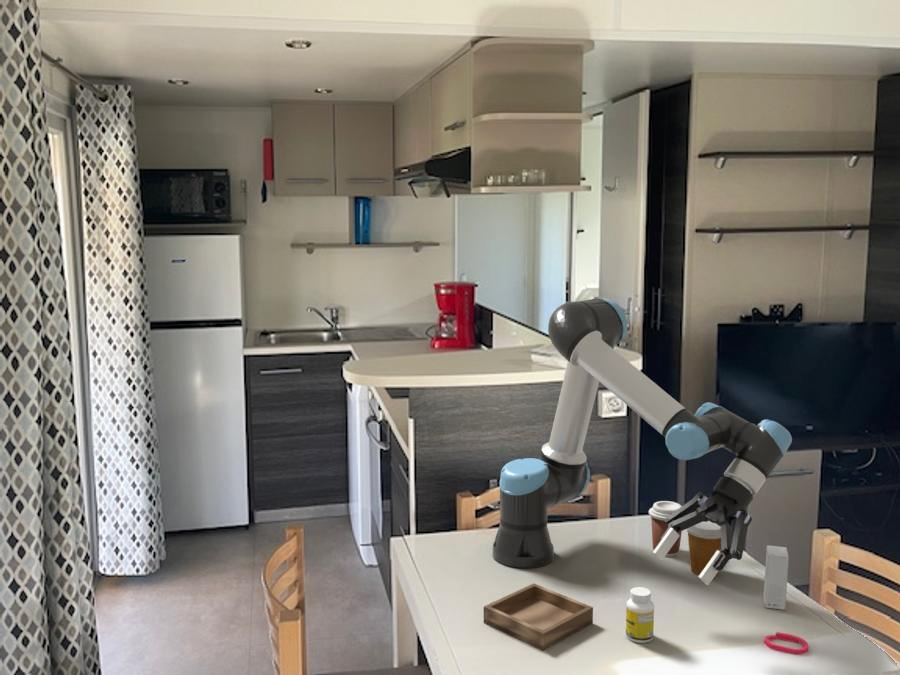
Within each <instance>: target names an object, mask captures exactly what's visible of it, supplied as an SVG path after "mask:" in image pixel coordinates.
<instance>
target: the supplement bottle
mask: <svg viewBox="0 0 900 675" xmlns="http://www.w3.org/2000/svg"><path fill="white" fill-rule="evenodd" d="M629 597H630V598H629V599H628V600H627V601H626V608H625V609H626V610H625V611H626V612H625V614H626V617H625V636H626V638H627V639H628V640H630V641H631V642H634V643H637V644H646V643H650V642H651V641H652V640H653V639H654V626H655V624H654V623H655V622H654V621H655V620H654V618H655V617H654V616H655V605H654V602H653V601H652V600H651V597H652V592H651V590H649V589H648V588H646V587H642V586H637V587H633V588H631V589H630V595H629Z"/></svg>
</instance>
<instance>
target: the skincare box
mask: <svg viewBox="0 0 900 675" xmlns="http://www.w3.org/2000/svg"><path fill="white" fill-rule="evenodd" d="M787 549H788V548H787V547H785V546H777V545H776V546H775V545H766V554H765V555H766V556H765V570H764V584H763V585H764V586H763V602H764V607H765V608H767V609H774V610H775V609H776V610H781V611H782V610H783V611H784V610H786V605H787V604H786V603H787V601H786V600H787V588H788V572H789V558H790V557H789V552H788V550H787Z"/></svg>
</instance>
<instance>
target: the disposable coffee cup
mask: <svg viewBox="0 0 900 675" xmlns="http://www.w3.org/2000/svg"><path fill="white" fill-rule="evenodd" d="M686 532H687V538H688V539H687V540H688V550H689V562H690V571H691V573H693V575H696V576H699V575H700V574H701V572H702V571H703V570H704V568H705V567H706V565H707V564H708V562H709V561H710V560H711V558H712V557H713V555H714V554H715V553H716V551H717V550H718V551H720V552H721V553H722V551H721V550H722V549H721V527H720V526H718V525H717V524H716V523H712V522H710V521H707V522H701V523H699V524H696V525H694V526H692V527H690V528H687V529H686ZM720 549H721V550H720ZM719 573H720V572H719V571H718V572H717V574H716V575H715V577H716V576H719Z"/></svg>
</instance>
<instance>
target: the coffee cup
mask: <svg viewBox="0 0 900 675" xmlns="http://www.w3.org/2000/svg"><path fill="white" fill-rule="evenodd" d="M682 506H683V505H681V504H680V503H678V502H675V501H669V500H659V501H656V502H654V503H653V505H652V507H651V508H649V510H648V515H649V516H650V517H651V538H652V540H651V541H652V552H653V551H654V550H655V548H656V547H657V546H658V544H659V543H660V541H661V537H662V536H663V534H664V533H665V532H666V530H667V529H668V527H669V526H668V524H667V523H666V521H665V518H666V517H668V516H669V515H670V514H672V513H673V512H675V511H676V510H678V509H679V508H681V507H682ZM672 521H673V520H672ZM677 527H678V526H677ZM682 532H683V531H681V532H679V535H680V536H679V538H678V539H677V540H676V542H675V543H674V544H673V546H672V547H671V549H670V550H669V551H668V553H667V554H666V556H665V557H676V556H678V555H679V553H680V549H681V548H680V546H681V539H682Z"/></svg>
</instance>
